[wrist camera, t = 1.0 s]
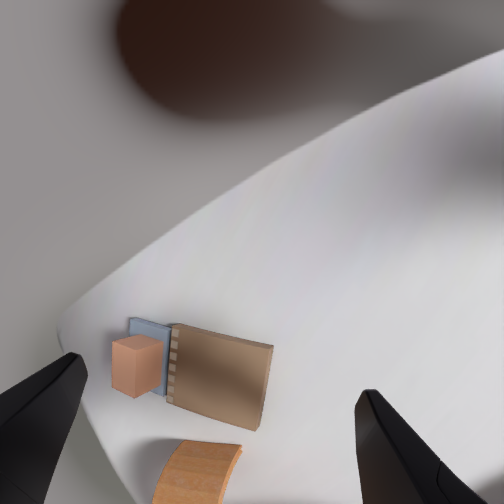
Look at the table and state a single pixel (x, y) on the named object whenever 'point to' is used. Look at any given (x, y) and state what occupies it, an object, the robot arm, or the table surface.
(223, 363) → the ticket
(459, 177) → the table surface
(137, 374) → the stub
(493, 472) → the table surface
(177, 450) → the arch
